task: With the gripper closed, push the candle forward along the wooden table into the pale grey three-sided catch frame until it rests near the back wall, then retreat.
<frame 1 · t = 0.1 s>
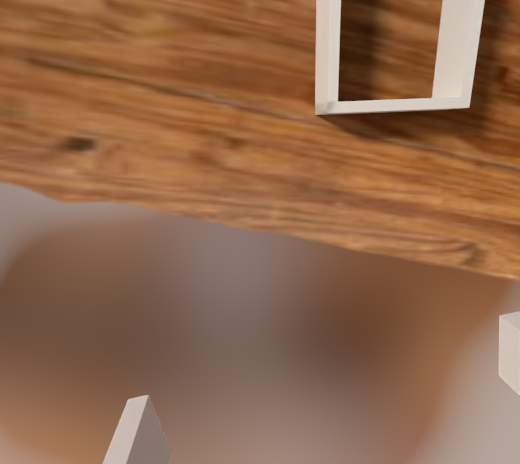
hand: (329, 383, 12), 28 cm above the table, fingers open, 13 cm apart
catch frame: (382, 35, 34), on the table
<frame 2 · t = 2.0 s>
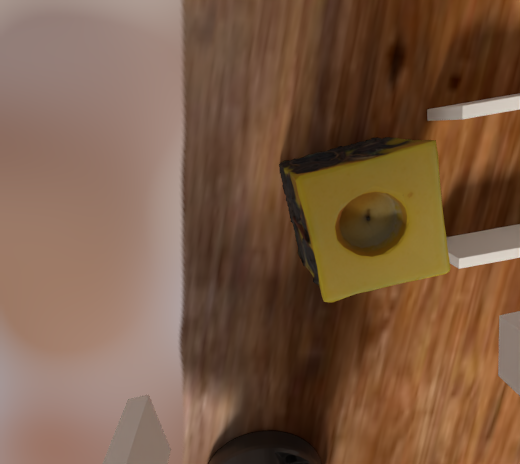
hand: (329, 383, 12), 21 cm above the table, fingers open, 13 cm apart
catch frame: (491, 172, 33), on the table
candle: (337, 199, 33), on the table
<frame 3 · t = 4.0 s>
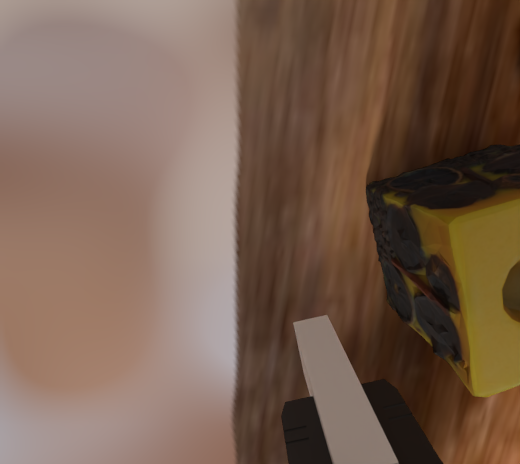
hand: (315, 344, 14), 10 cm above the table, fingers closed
candle: (438, 228, 25), on the table
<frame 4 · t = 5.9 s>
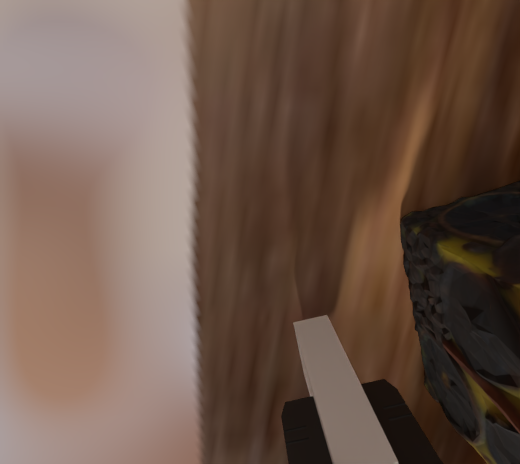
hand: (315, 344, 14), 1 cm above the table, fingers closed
candle: (506, 279, 16), on the table
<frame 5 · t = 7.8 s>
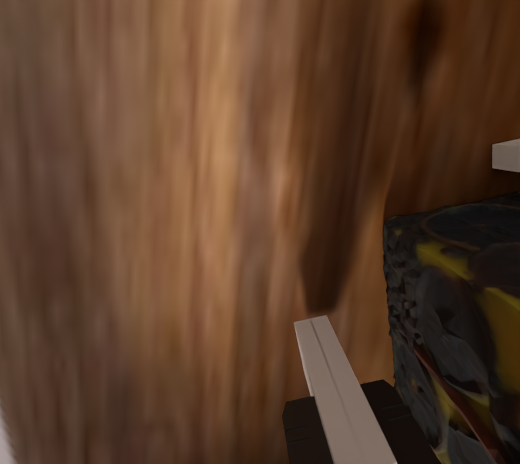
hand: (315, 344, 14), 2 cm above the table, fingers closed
candle: (482, 292, 16), on the table, touching hand
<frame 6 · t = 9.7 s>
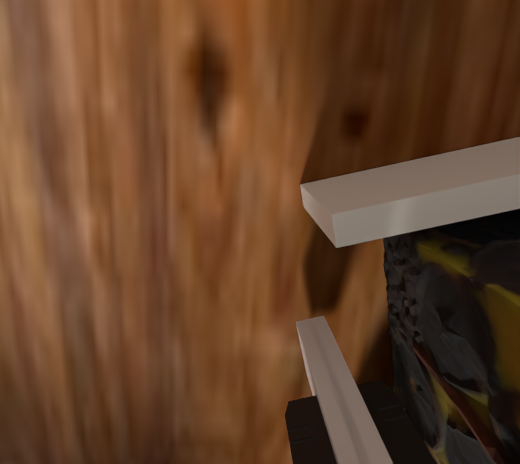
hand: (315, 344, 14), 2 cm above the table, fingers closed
catch frame: (456, 297, 16), on the table
candle: (483, 292, 16), on the table, touching catch frame, hand
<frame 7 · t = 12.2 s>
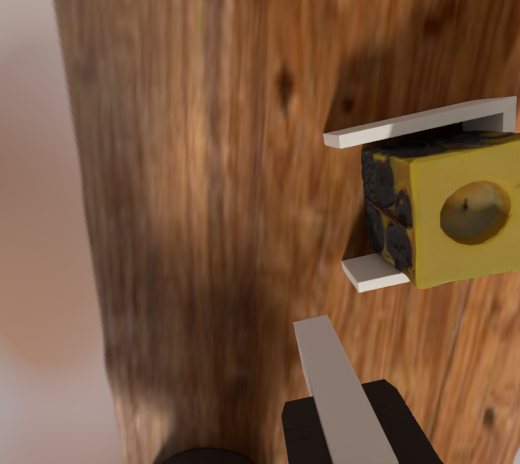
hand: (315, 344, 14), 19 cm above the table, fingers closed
catch frame: (398, 191, 32), on the table
candle: (411, 190, 33), on the table
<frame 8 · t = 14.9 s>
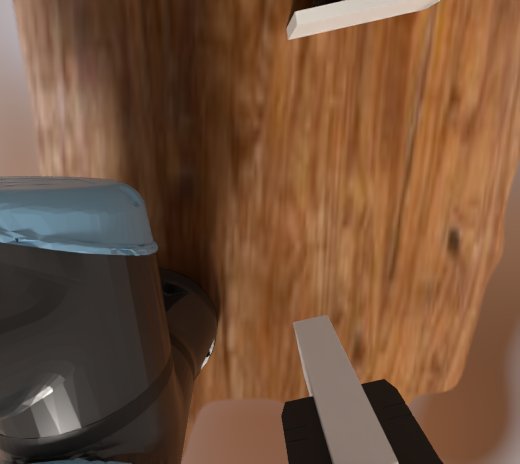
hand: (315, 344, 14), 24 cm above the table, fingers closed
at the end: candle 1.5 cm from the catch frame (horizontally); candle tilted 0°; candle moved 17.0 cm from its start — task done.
